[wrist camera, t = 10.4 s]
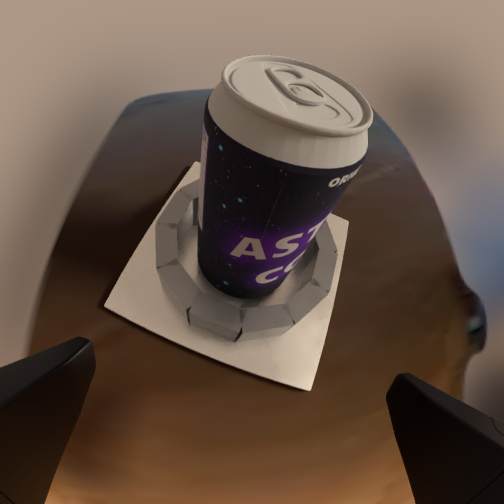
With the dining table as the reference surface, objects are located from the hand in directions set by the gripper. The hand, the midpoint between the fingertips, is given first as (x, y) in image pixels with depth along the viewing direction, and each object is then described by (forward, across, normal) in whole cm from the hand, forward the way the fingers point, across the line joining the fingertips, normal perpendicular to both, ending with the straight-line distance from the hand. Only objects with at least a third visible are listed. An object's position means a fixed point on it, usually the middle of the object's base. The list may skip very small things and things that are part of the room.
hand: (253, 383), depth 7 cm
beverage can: (+11, 0, 0) cm, 11 cm away
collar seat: (+12, 0, 0) cm, 12 cm away
